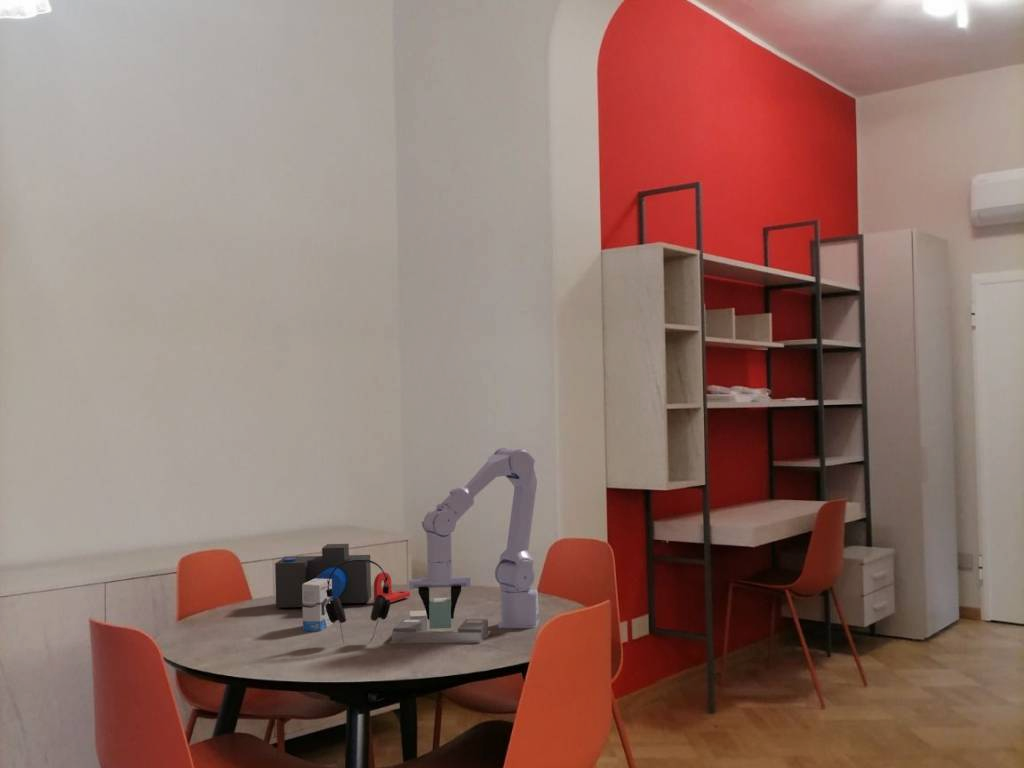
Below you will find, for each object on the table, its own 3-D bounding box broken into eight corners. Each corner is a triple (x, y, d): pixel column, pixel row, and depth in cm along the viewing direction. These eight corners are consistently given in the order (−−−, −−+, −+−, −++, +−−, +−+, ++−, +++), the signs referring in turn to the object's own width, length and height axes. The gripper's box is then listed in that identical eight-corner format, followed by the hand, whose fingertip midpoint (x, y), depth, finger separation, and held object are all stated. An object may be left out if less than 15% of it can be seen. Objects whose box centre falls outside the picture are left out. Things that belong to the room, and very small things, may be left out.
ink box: (320, 632, 233) (319, 584, 233) (301, 631, 234) (300, 584, 234) (333, 624, 241) (332, 578, 242) (315, 623, 242) (314, 578, 242)
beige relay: (425, 626, 237) (425, 610, 237) (426, 631, 231) (426, 615, 231) (410, 627, 237) (409, 611, 237) (410, 632, 231) (410, 616, 231)
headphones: (390, 634, 229) (388, 552, 229) (392, 646, 217) (390, 560, 218) (327, 639, 226) (325, 555, 226) (325, 651, 215) (324, 563, 215)
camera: (271, 611, 258) (269, 554, 258) (285, 599, 274) (284, 545, 274) (361, 609, 258) (360, 552, 258) (371, 597, 274) (370, 543, 274)
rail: (481, 642, 217) (481, 631, 217) (480, 643, 216) (480, 632, 216) (393, 641, 220) (393, 630, 220) (392, 642, 219) (391, 631, 219)
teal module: (451, 620, 227) (450, 596, 227) (451, 627, 219) (450, 603, 219) (430, 620, 227) (430, 597, 227) (429, 628, 219) (429, 604, 219)
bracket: (386, 603, 265) (386, 575, 265) (374, 602, 267) (373, 574, 267) (411, 595, 275) (411, 568, 275) (399, 594, 278) (398, 567, 278)
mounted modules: (488, 632, 227) (487, 619, 227) (481, 642, 217) (481, 628, 217) (403, 631, 229) (403, 618, 230) (393, 641, 220) (393, 627, 220)
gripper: (469, 557, 228) (471, 613, 228) (409, 559, 227) (410, 615, 227) (470, 561, 221) (471, 619, 220) (408, 564, 220) (409, 622, 220)
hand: (440, 618), depth 223 cm, fingers closed on teal module, 5 cm apart
